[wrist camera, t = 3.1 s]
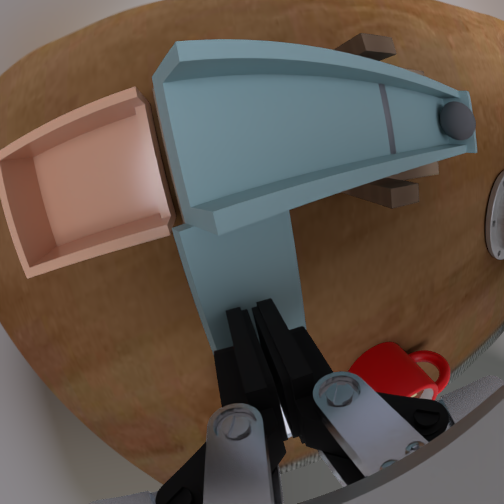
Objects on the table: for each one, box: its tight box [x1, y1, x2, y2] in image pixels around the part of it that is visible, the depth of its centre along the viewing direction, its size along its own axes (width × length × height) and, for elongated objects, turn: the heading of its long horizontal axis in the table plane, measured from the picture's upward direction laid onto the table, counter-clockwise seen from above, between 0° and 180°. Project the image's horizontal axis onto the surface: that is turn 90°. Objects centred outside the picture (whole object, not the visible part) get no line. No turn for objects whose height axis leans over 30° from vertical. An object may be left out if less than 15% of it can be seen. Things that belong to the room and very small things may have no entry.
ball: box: [440, 101, 476, 140], centre depth 15 cm, size 3×3×3 cm
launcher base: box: [152, 33, 439, 224], centre depth 15 cm, size 23×10×8 cm, turn 102°
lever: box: [152, 39, 477, 354], centre depth 13 cm, size 22×13×4 cm, turn 102°
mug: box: [348, 342, 450, 400], centre depth 25 cm, size 8×12×8 cm, turn 105°
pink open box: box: [0, 87, 176, 279], centre depth 15 cm, size 10×8×5 cm
